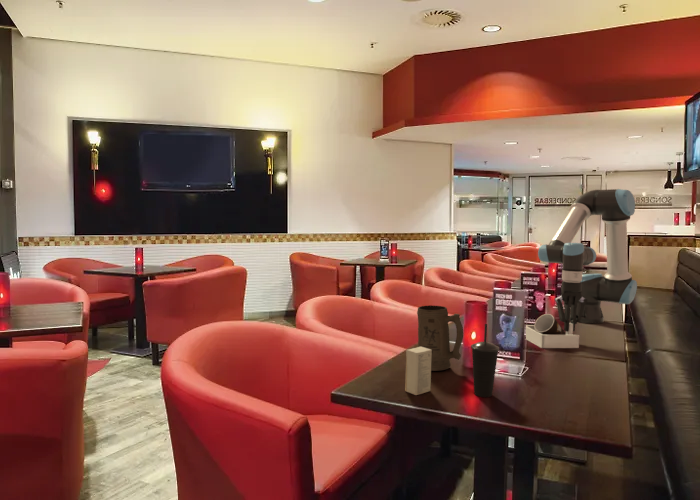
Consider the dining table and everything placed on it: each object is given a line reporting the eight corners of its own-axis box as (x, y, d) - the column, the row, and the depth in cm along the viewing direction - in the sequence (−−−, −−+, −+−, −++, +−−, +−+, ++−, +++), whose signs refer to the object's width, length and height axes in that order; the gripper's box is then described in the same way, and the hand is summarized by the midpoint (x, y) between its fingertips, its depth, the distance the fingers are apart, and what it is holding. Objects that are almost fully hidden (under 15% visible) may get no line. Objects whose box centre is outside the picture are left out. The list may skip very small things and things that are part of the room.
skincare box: (419, 387, 150) (421, 346, 150) (431, 391, 147) (432, 349, 146) (404, 391, 146) (405, 349, 146) (415, 395, 143) (416, 352, 142)
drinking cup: (480, 400, 140) (483, 327, 139) (463, 391, 147) (466, 322, 146) (503, 397, 143) (506, 326, 142) (485, 388, 150) (488, 320, 149)
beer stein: (411, 369, 167) (413, 308, 166) (419, 361, 177) (421, 303, 176) (460, 375, 162) (462, 312, 161) (464, 366, 172) (467, 307, 171)
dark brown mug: (554, 325, 213) (540, 312, 209) (571, 329, 205) (558, 315, 201) (541, 349, 210) (527, 336, 207) (558, 354, 203) (543, 340, 199)
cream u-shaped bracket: (556, 336, 218) (556, 325, 218) (578, 347, 200) (579, 335, 200) (521, 336, 217) (522, 325, 216) (541, 348, 199) (542, 335, 199)
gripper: (560, 282, 203) (557, 341, 205) (592, 282, 205) (589, 341, 206) (551, 279, 211) (549, 337, 213) (582, 280, 212) (579, 337, 214)
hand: (568, 339), depth 209 cm, fingers closed
